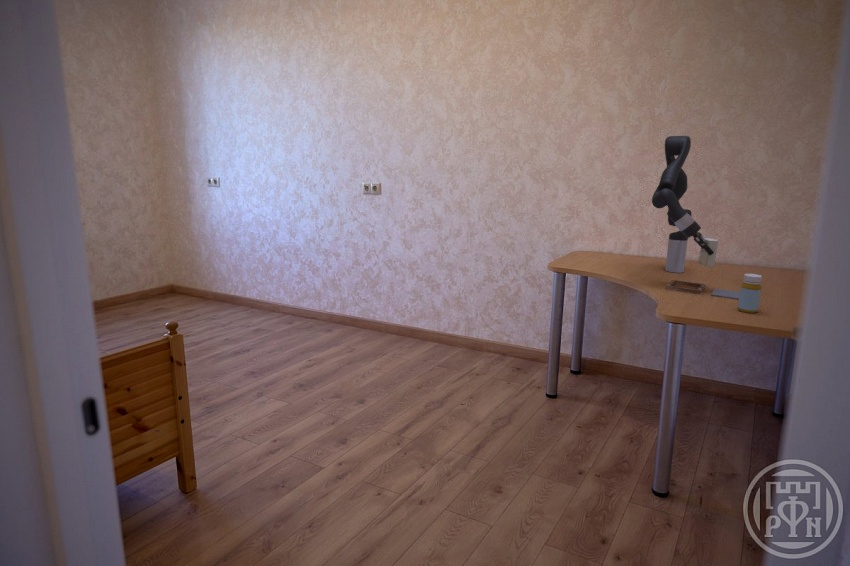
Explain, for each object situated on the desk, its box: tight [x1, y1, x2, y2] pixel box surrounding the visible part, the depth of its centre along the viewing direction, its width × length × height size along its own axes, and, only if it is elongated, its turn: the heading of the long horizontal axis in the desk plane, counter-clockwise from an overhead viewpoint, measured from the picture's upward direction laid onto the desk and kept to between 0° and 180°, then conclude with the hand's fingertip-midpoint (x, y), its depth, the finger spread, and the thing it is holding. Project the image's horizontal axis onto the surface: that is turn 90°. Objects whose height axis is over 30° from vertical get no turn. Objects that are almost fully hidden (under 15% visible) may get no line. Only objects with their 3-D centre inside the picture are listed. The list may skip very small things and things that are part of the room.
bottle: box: [737, 273, 763, 314], centre depth 227 cm, size 7×7×15 cm
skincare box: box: [698, 237, 719, 268], centre depth 255 cm, size 6×4×12 cm
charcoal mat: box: [710, 288, 741, 301], centre depth 254 cm, size 13×12×1 cm
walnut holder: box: [664, 279, 706, 295], centre depth 264 cm, size 15×15×2 cm
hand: (712, 252), depth 254 cm, fingers closed on skincare box, 7 cm apart
